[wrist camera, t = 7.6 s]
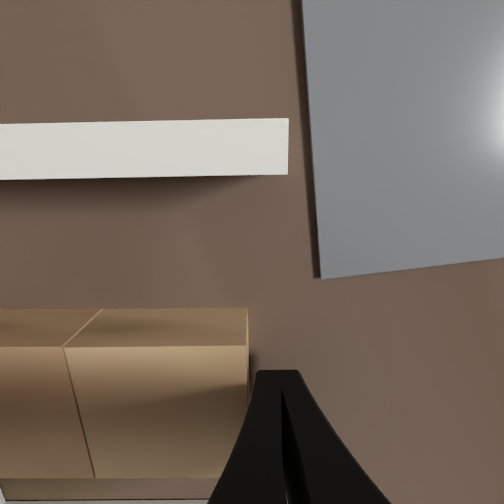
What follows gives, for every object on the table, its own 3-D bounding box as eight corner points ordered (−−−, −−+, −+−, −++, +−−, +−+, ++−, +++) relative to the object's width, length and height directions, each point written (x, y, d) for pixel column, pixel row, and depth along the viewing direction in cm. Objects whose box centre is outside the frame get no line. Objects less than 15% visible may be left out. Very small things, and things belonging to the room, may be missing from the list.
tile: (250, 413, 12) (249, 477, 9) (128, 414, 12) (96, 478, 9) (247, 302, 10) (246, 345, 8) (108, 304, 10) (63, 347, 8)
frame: (273, 514, 13) (279, 615, 10) (-11, 516, 13) (-85, 616, 10) (276, 134, 8) (288, 117, 5) (-173, 143, 8) (-400, 133, 5)
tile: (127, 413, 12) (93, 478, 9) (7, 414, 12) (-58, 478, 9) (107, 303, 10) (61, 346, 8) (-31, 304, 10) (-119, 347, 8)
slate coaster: (552, 241, 10) (578, 248, 9) (316, 270, 10) (321, 279, 9) (609, -58, 7) (651, -85, 6) (296, -4, 8) (300, -24, 7)
